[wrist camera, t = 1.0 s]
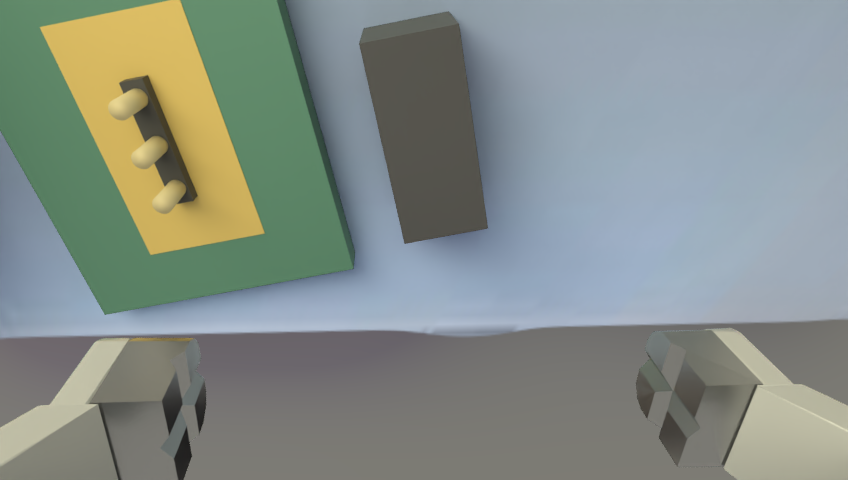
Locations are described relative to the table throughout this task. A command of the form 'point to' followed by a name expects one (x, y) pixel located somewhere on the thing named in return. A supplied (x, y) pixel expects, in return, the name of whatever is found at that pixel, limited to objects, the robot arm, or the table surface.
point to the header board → (171, 144)
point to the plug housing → (425, 125)
